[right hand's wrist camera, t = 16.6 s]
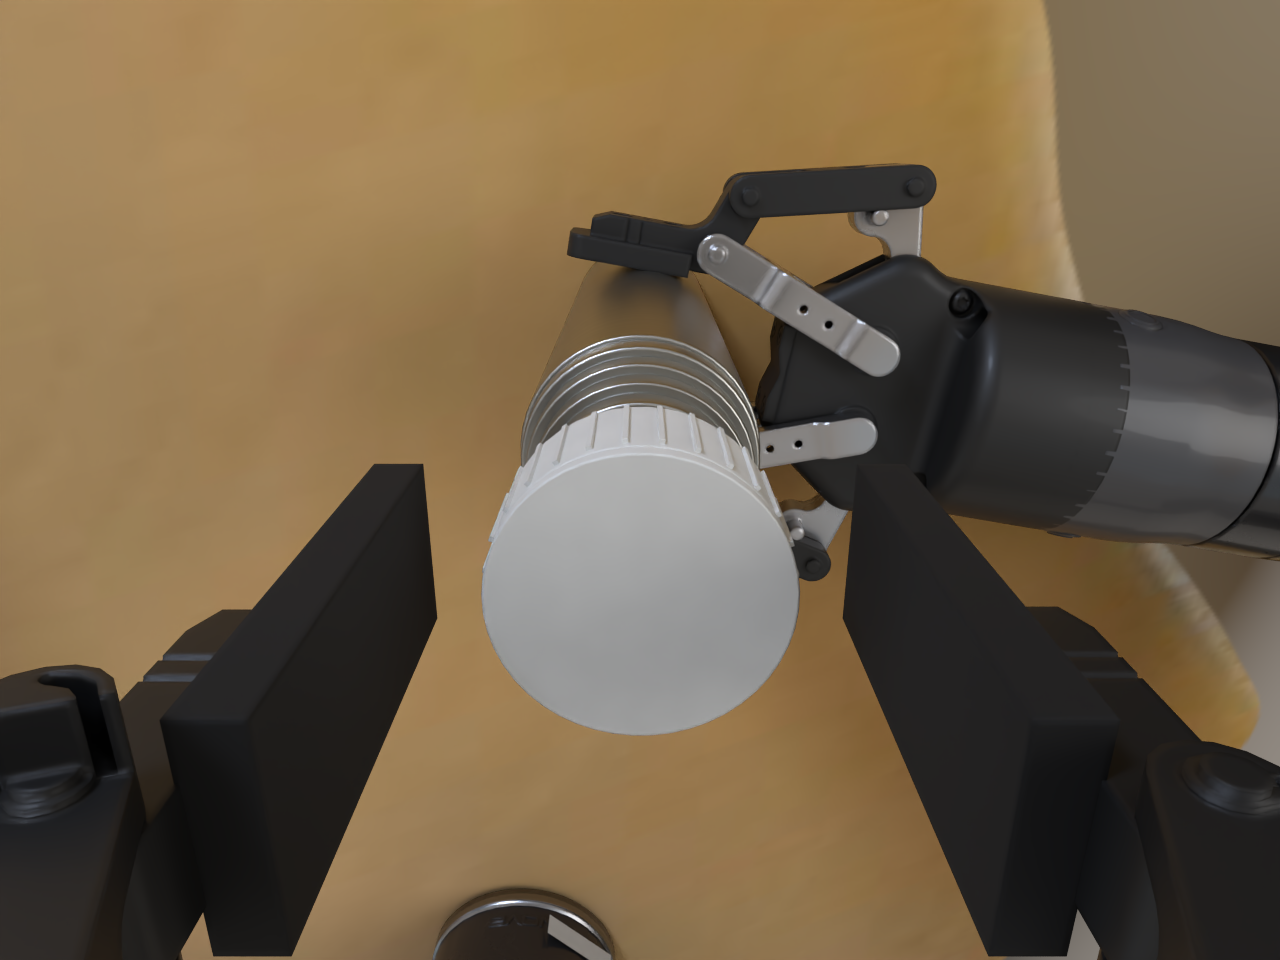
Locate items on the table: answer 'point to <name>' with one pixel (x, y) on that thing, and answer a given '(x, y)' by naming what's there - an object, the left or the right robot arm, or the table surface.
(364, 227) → the table surface
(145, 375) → the table surface
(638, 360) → the bottle
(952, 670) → the right robot arm
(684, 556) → the cap
